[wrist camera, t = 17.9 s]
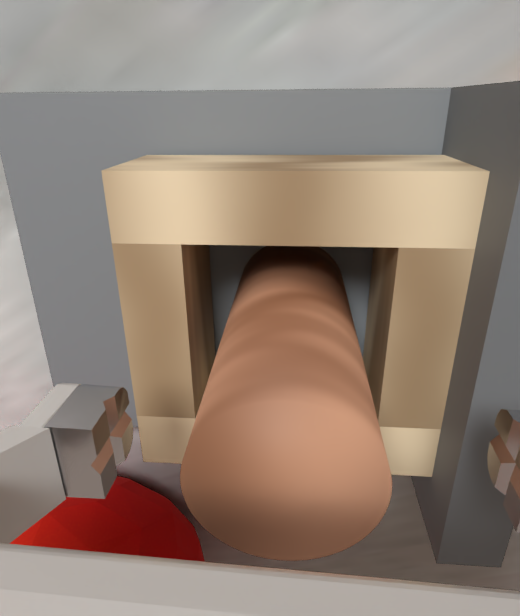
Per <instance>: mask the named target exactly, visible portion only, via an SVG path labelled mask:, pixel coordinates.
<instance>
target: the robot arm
mask: <svg viewBox="0 0 520 616" xmlns="http://www.w3.org/2000/svg"><path fill="white" fill-rule="evenodd" d="M128 405H129V398H128V392H127V390H126V389H125V388H124V387H115V386H102V385H89V384H75V383H60V384H57V385H56V386H55V387H54V388H53V389H52V390H51V391H50V392H49V393H48V394H47V395H46V397H45V398H44V399H43V400H42V401H41V402H40V403H39V404H38V405H37V406H36V408H35V409H34V410H33V411H32V412H31V413H30V414H29V415H28V416H27V417H26V418H25V420H24V421H23V422H22V423H21V424H20V425H19V426H10V427H8V428H6V429H3V430H1V431H0V616H520V591H516V590H506V589H495V588H485V587H474V586H463V585H453V584H442V583H431V582H421V581H410V580H400V579H389V578H378V577H368V576H357V575H346V574H335V573H324V572H313V571H302V570H291V569H280V568H269V567H258V566H247V565H236V564H225V563H214V562H203V561H192V560H181V559H170V558H159V557H149V556H138V555H127V554H116V553H105V552H94V551H83V550H73V549H62V548H51V547H40V546H29V545H18V544H9V543H11V542H12V541H13V540H15V539H16V538H17V537H18V536H20V535H21V534H22V533H24V532H25V531H26V530H27V529H29V528H30V527H31V526H32V525H34V524H35V523H36V522H38V521H39V520H40V519H41V518H43V517H44V516H45V515H47V514H48V513H49V512H50V511H52V510H53V509H54V508H55V507H57V506H58V505H59V504H61V503H62V502H63V501H64V500H66V497H77V498H96V499H105V498H106V496H107V494H108V492H109V490H110V488H111V486H112V485H113V483H114V481H115V479H116V477H117V471H116V466H117V465H119V464H121V463H122V462H124V461H125V460H126V458H127V456H128V454H129V451H130V448H131V444H132V439H133V424H132V419H131V418H130V417H129V415H128V414H127V413H126V412H125V410H126V408H127V406H128ZM494 425H495V427H496V429H497V431H498V432H499V435H498V436H496V437H495V438H494V439H493V440H491V441H490V444H489V449H488V454H487V460H488V470H489V474H490V478H491V480H492V482H493V485H494V487H495V488H496V489H498V490H499V491H500V492H502V493H503V494H504V495H505V499H504V502H503V506H504V508H505V510H506V512H507V514H508V516H509V518H510V520H511V522H512V524H513V526H514V529H515V531H516V532H520V410H513V409H501V410H500V411H499V413H498V414H497V417H496V420H495V424H494Z"/></svg>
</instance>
